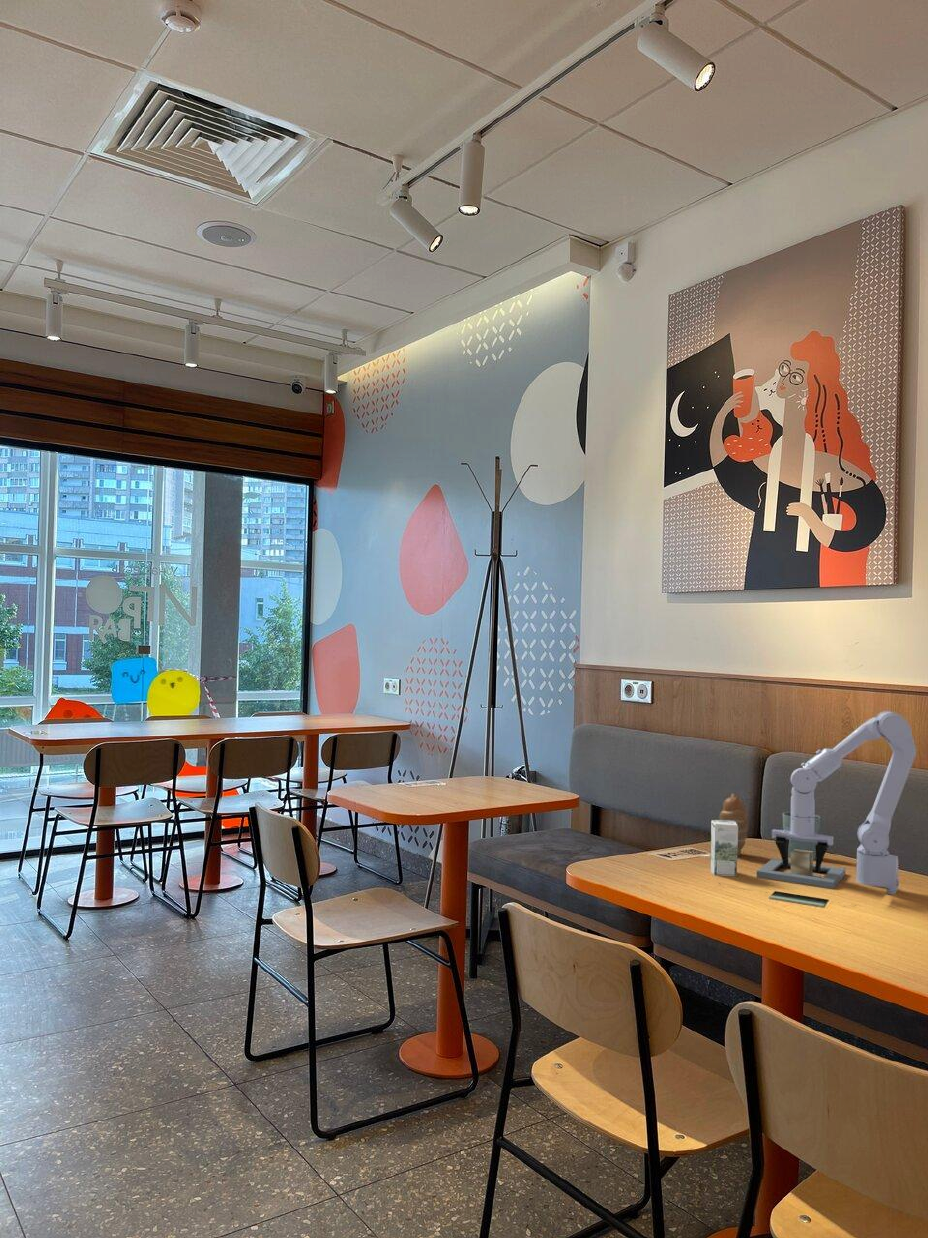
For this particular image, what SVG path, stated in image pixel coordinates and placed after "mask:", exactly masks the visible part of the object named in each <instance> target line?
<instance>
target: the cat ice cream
mask: <svg viewBox="0 0 928 1238" xmlns="http://www.w3.org/2000/svg"><path fill="white" fill-rule="evenodd" d="M722 805H723V806H722V810H721V811H720V813H719V820H724V821H734V822H736V824H737V826H738V848H737V857H739V856H741V853H742V850H743V848H744V847H745V846H746V845H745V844H746V840H747V837H748V833H747V831H748V828H749V823H748V822H749V821H748V817H749V814H748V813H747V811H746V806H745V803H743V801H742V800H741V799H740V798H739V796H736V795H735V793H733V792H732V794H731V795H730V796H729V797H727V798H726V799H725V800H724V801H723V804H722Z"/></svg>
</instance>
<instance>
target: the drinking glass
mask: <svg viewBox="0 0 928 1238" xmlns="http://www.w3.org/2000/svg"><path fill="white" fill-rule="evenodd" d="M781 816H782V830H788V831H790V823H791V811H786V812H782V815H781ZM821 820H822V819H821V816H820V815H817V814H815V820H814V833H815V834H820V833H819V832H820V823H821ZM807 840H809V839H807ZM817 844H818V843H812V842H804V841H796V840H789V847H788V859H789V858H790V859H791V852H792V851H793V850H794V849H798V850H805V851H813V861H814V859H815V860H816V849H815V846H816V845H817Z"/></svg>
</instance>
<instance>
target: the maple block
mask: <svg viewBox="0 0 928 1238" xmlns="http://www.w3.org/2000/svg"><path fill="white" fill-rule="evenodd" d="M790 861H791V867H790V873H791V874H798V875H805V876H812V875H813V874H814V873H813V872H814V871H813V864H814V860H813V851H805V850H798V849H794V850H793V851H792V852H791V858H790Z"/></svg>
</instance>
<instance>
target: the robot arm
mask: <svg viewBox="0 0 928 1238" xmlns="http://www.w3.org/2000/svg"><path fill="white" fill-rule="evenodd" d="M912 733H913V732H912V727H911V726H910V724H909V722H908V721H907V720H906V719H905V718H904V717H903V716H902V715H901V714H899V713H896V712H895V711H891V710H883V711H881V712H879V713H878V714H877V715H876V716H875V717H871V718H870V719H868V720H866V721H865V722H863V723H862V724H861V725H860V726H858V727H857V728H856V729H854V730H853V731H852V732H851V733H850V734H849V735H847V736H846V737H845V738H844V739H843V740H842V741H840V742H839V743H838V744H837V745H836V746H834V747H833V748H825V747H824V748H823V749H822V750H821V749H818V750H817V751H815V753H816V754H815V755H814V756H813V757H811V758H810V759H809V760H808V761H806V762H801V764H800V767H799V768H796V769H794V770H793V772H792V773H791V774H790V778H789V779H790V783H791V785H792V787H791V791H790V792H791V793H790V794H791V797H790V812H791V823H790V831H788V830H783V829H772V830H771V839H775V845H776V847H777V849H778V851H779V854H780V857H781V859H782V861H783V866H782V867H783V869H788V868H789V867H788V860H789V858H788V847H789V840H796V841H804V842H812V843H817V845H816V846H815V849H816V859H815V864H816V866H815V871H814V872H815V873H816V874H819V873H821V872H820V867H821V865H822V862H823V859H824V858H825V855H826V852H827V850H828V848H830V846H833V845H834V836H832V835H826V834H825V835H824V834H820V833H818V834H815V833H814V820H815V815H816V814H815V811H816V810H815V806H816V803H815V802H816V799H815V790H816V788H817V785H818V784H817V783H819V782H822V781H823V780H825V779H827V778H828V777H829V776H830V775H831V774H832V773H834V772H835V771H837V770H838V769H839V768H841V766H842V760H843V758H845V757H846V756H847V755H849V754H850V753H852V752H853V751H855V750H856V749H857V748H859V747H860V746H861V745H863V744H864V743H866V742H867V741H872V740H881V739H882V737H883V738H884V739H885V740H886V741H887V744H888V745H889V747H890V748H891V751H892V754H891V757H890V760H889V763H888V765H887V768H886V771H885V773H884V776H883V778H882V781H881V784H880V786H879V790H878V792H877V794H876V797H875V800H874V803H873V805H872V807H871V810H870V812H869V813H868V815H867V816H866V819H865V821H864V822H863V823H862V824H861V825H859V827H858V829H857V834H856V836H857V838H858V841H859V842H860V845H859V846H858V847H857V849H856V882H857V883H859V884H862V885H863V886H864V885H865V886H868V887H869V886H870V887H879V888H880V887H881V888H887V890H886V891H885V894H886V895H887V894H888V895H896V893H897V891H898V890H899V884H900V883H899V882H900V881H899V858H898V856H897V855H893V854H890V853H889V849H888V848H889V846H890V835H889V834H890V831H891V827H892V826H891V825H892V819H893V816H894V813H895V812H896V808H897V805H898V803H899V801H900V798H901V795H902V792H903V790H904V787H905V784H906V781H907V779H908V776H909V773H910V772H911V768H912V766H913V764H914V760H915V758H916V754H917V747H916V743H915V740H914V737H913V734H912ZM881 736H882V737H881ZM807 839H809V840H807ZM815 873H814V874H815Z"/></svg>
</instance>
